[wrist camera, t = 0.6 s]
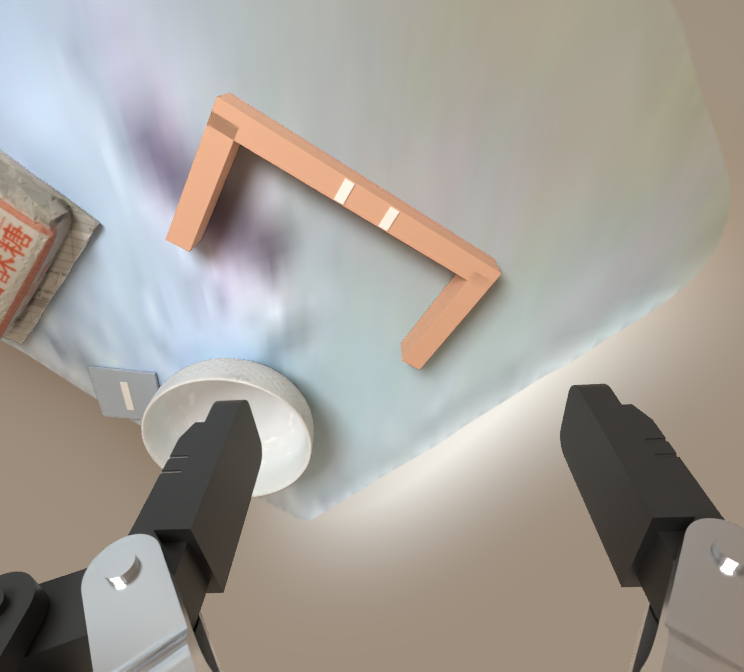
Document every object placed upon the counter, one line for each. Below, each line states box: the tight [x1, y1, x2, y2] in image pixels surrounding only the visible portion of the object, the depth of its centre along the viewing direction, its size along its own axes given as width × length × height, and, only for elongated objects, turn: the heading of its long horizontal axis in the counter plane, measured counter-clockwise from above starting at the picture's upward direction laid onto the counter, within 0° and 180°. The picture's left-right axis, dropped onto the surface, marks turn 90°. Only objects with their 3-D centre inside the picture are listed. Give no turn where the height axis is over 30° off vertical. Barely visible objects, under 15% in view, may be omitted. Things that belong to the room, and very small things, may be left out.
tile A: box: [88, 366, 159, 420], centre depth 49 cm, size 7×7×1 cm
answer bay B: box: [166, 93, 502, 370], centre depth 37 cm, size 12×25×3 cm, turn 59°
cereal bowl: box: [141, 358, 314, 497], centre depth 46 cm, size 17×17×7 cm
